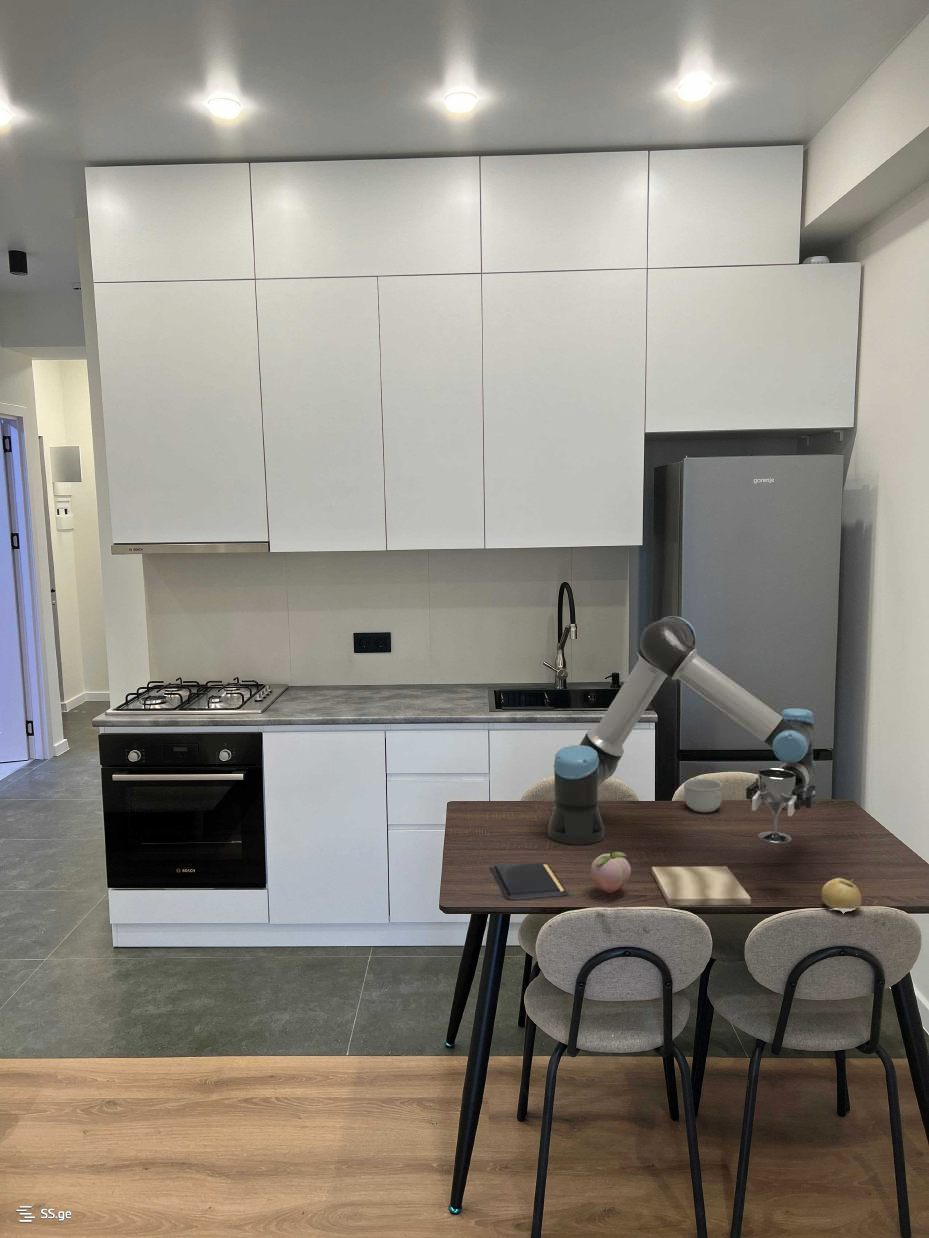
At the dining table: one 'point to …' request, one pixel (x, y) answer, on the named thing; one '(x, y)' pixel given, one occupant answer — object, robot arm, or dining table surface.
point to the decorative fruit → (610, 871)
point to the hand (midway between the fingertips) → (771, 807)
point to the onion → (841, 894)
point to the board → (700, 886)
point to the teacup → (703, 794)
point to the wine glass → (776, 797)
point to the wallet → (527, 881)
